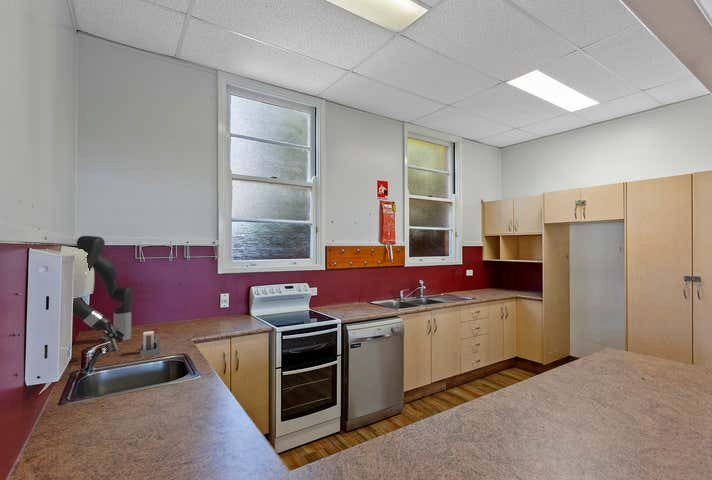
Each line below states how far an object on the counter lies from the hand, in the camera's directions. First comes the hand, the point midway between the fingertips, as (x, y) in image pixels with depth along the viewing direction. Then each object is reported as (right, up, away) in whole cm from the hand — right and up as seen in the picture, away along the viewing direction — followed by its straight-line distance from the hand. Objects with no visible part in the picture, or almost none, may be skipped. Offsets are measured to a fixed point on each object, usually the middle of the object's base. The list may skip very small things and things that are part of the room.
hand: (122, 338), depth 189 cm
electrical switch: (-13, -9, +8) cm, 18 cm away
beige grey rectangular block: (+11, -9, +6) cm, 15 cm away
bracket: (+11, -9, +6) cm, 15 cm away
